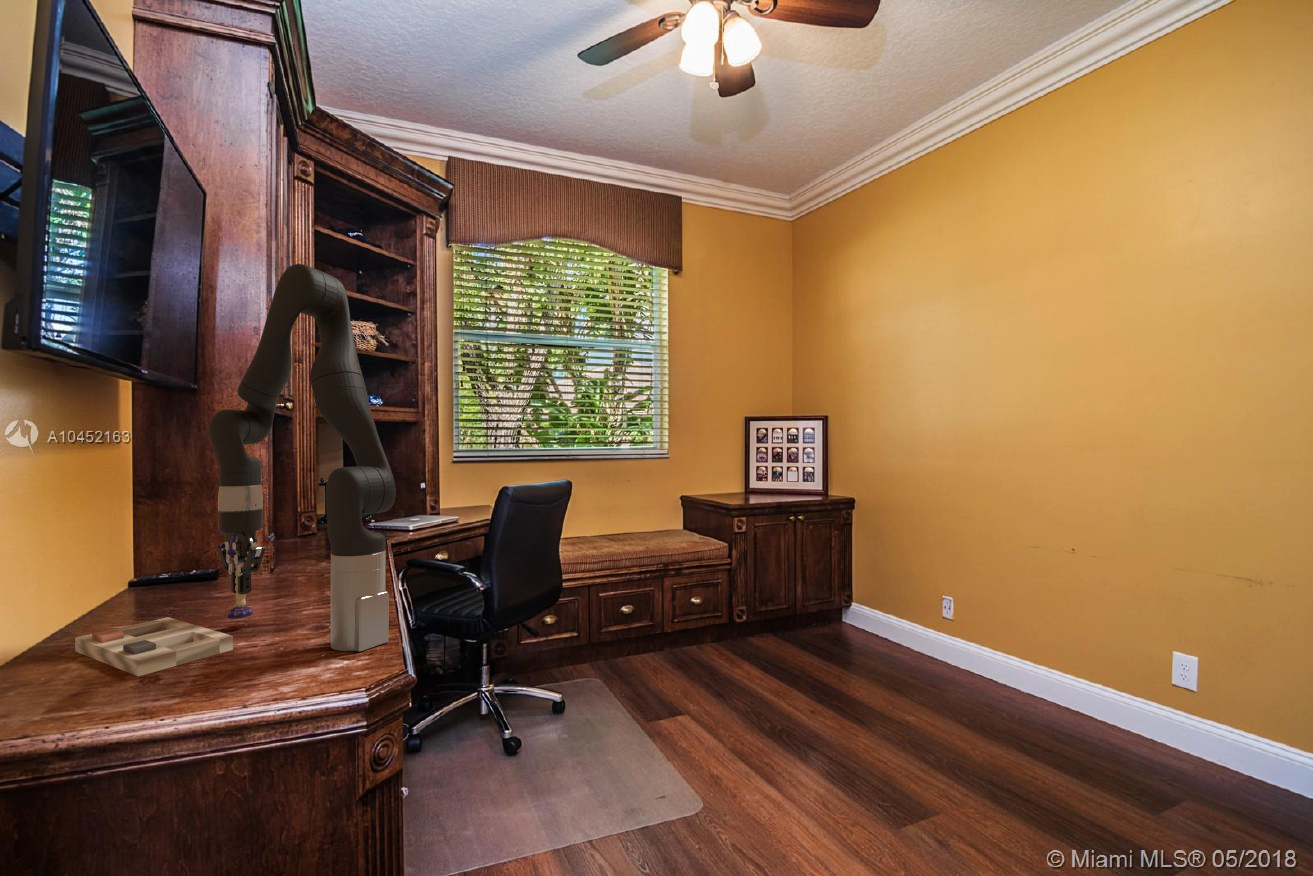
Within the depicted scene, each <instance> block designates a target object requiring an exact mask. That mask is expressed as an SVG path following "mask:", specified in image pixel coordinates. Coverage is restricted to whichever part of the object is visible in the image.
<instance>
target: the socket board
mask: <svg viewBox="0 0 1313 876" xmlns="http://www.w3.org/2000/svg"><path fill="white" fill-rule="evenodd" d="M74 641H75V643H74V649H75V651H74V652H76V653H78V654H80V655H83V656H86V657H89V658H91V659H93V660H96V661H97V662H101V663H103V664H106V665H107V666H111V667H114V668H116V669H118V670H121V671H123V672H126V673H128V674H131V675H133V676H136V677H141V676H145V675H148V674H152V673H155V672H158V671H162V670H166V669H170V668H173V667H177V666H179V665H180V666H181V665H184V664H187V663H191V662H194V661H198V660H202V659H205V658H208V657H212V656H215V655H220V654H223V653H226V652H230V651H233V650H234V635H231V634H228V633H224V632H221V631H218V630H213V629H211V628H206V627H203V626H200V625H196V624H193V623H190V622H185V621H183V620H179V619H175V618H172V617H168V616H167V617H163V618H159V619H154V620H150V621H144V622H140V623H135V624H131V625H127V626H122V627H118V628H113V629H112V628H111V629H109V630H104V631H100V632H94V633H91V634H90V633H89V634H86V635H82V636H78V637H75V638H74Z"/></svg>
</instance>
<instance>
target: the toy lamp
mask: <svg viewBox="0 0 1313 876" xmlns="http://www.w3.org/2000/svg"><path fill="white" fill-rule="evenodd" d="M238 541H239V540H238V536H237V535H232V538H231V541H230V545H229V548H228V551H227V554H228V555H236V551H235V550H233V548H232V544H233V542H238ZM240 555H241V551H240ZM244 559H246V558H242V559H241V560H244ZM235 567H236V572H235V575H236V579H235V583H236V587H235V590H236V593H235V600H236V601H235V607H232V608H231V609H230V610H229V612H228V614H227V619H229V620H230V619H231V620H235V619H243V618H247V617H251V616H252V615H253V609H252V608H251V607H249V606H246V604H247V601H246V596H247V594H238V571H237V565H236V564H235ZM243 567H244V564H243Z"/></svg>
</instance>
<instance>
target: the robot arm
mask: <svg viewBox="0 0 1313 876" xmlns="http://www.w3.org/2000/svg"><path fill="white" fill-rule="evenodd" d="M271 299H272V300H271V303H270V306H269V308H268V309H269V310H268V311H267V315H266V319H265V323H264V327H263V329H262V333H261V337H260V339H259V343H258V346H257V348H256V351H255V353H254V354H253V355H254V356H253V358H252V360H251V362H250V363H249V366H248V367H247V369H246V371H245V373H244V375H243V377H242V379H241V381H240V383H239V385H238V388H237V395H238V397H239V398H240V399H241V400H243V402H244V401H245V402H246V403H247V405H246V408H245V409H222V410H218V411H217V412H216V413H215V414H214V415H213V416H212V417H211V419H210V422H209V426H208V435H209V438H210V443H211V446H212V448H213V452H214V454H215V457H216V460H217V463H218V467H219V475H218V476H219V477H218V478H219V489H218V496H217V529H218V530H217V531H218V532H219V533H220V534H225V537H224V542H223V543H218V544H217V547H216V548H217V551H218V553H219V558H220V561H221V565H222V567H223V570H224V572H227V571H228V574H229V575H230V592H231V593H232V594H236V590H235V587H236V583H235V579H236V575H235V572H236V567H235V564H236V565H237V571H238V594H246V595H247V594H250V593H251V592H252V575H253V574H254V573H256V572H259V570H260V567H261V565H262V561H263V558H264V555H265V552H266V547H265V545H261V546H260V545H259V544H258V538H257V531H261V530H262V529H263V527H264V507H263V506H264V503H263V502H264V497H263V490H262V489H263V488H262V464H261V461H260V459H259V458H257V457H255V456H252V455H249V454H248V453H247V451H246V448H245V446H244V445H256V444H259V443H261V442H262V441H265V439H266V438H267V436H268V435H269V434H270V432H271V430H272V428H273V425H274V424H273V422H274V417H275V413H276V405H277V401H278V399H279V397H280V395H281V393H283V392H282V391H283V390H284V388H285V386H286V385H287V383H288V380H289V379H290V375H291V372H292V366H293V364H292V363H293V362H292V361H293V360H292V359H293V358H292V348H291V347H292V346H291V338H292V337H291V335H292V332H293V331H292V330H293V329H294V328H293V327H294V325H295V323H296V321H297V320H298V317H299V316H300V314H304V315H307V316H310V317H312V318H313V319H314V321H315V322H316V325H317V329H318V333H319V339H320V346H319V350H318V352H317V354H316V356H315V358H314V361H313V363H312V365H311V369H310V374H309V380H310V381H309V382H310V386H311V390H312V394H313V398H314V402H315V405H316V408H317V410H318V412H319V414H320V415H321V417H322V418H323V419H324V421H326V422H327V424H328V425H329V426H330V427H332V429H333V430H334V432H336V433H337V434H338V435H339V437H340V438H341V439H342V440H343V441H344V442H345V444H346V445H347V447H349V450H350V451H351V453H352V455H353V458H354V460H355V464H356V466H344V467H343V466H341V467H337V468H336V469H334V470H332V471H331V473H330V474H329V476H328V478H327V481H326V485H325V509H326V511H325V512H326V531H327V536H328V540H329V541H328V542H329V544H330V648H331V649H332V650H335V651H339V652H362V651H365V650H369V649H372V648H374V647H377V646H380V645H383V644H385V643H389V627H390V626H389V625H390V624H389V608H390V607H389V604H390V601H389V592H388V591H386V561H387V559H386V558H387V557H386V555H387V554H386V548H387V547H386V543H387V541H386V537H385V535H384V534H382V533H379V532H375V531H371V530H368V529H367V528H365V526H364V524H363V520H362V519H363V518H362V516H365V515H367V516H368V515H376V514H382V513H386V512H387V511H389V510H390V509H392V507H393V506H394V504H395V501H396V496H397V493H396V491H397V490H396V484H395V483H396V482H395V479H394V478H395V477H394V475H393V472H392V469H391V466H390V464H389V460H388V458H387V456H386V453H385V450H384V448H383V445H382V442H381V439H380V437H379V434H378V431H377V430H378V429H377V426H376V424H375V420H374V416H373V413H372V410H371V409H372V408H371V406H370V400H369V397H368V396H369V395H368V392H367V391H368V390H367V387H366V384H365V379H364V375H363V373H362V369H361V365H360V361H359V356H358V352H357V349H356V343H355V339H354V335H353V329H352V322H351V321H352V320H351V313H350V306H349V305H350V304H349V299H348V294H347V291H346V288H345V287H344V285H343V283H342V282H341V281H340V280H339V279H337V278H336V277H335V276H333V275H330V274H329V273H326V272H325V271H322V270H319V269H317V268H314V267H312V266H310V265H307V264H305V263H304V264H303V263H295V264H292V265H290V266H288V267H287V268H286V269H285V270H284V271H283V273H282V274H281V276H280V277H279V280H278V281H277V285H276V287H275V290H274V293H273V297H272V298H271ZM232 535H237V536H238V540H239V541H238V542H233V544H232V548H233V550H235V551H236V555H228V554H227V551H228V548H229V545H230V541H231V538H232ZM240 551H241V555H240ZM242 558H246V559H244V560H241V559H242ZM243 564H244V567H243Z"/></svg>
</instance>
